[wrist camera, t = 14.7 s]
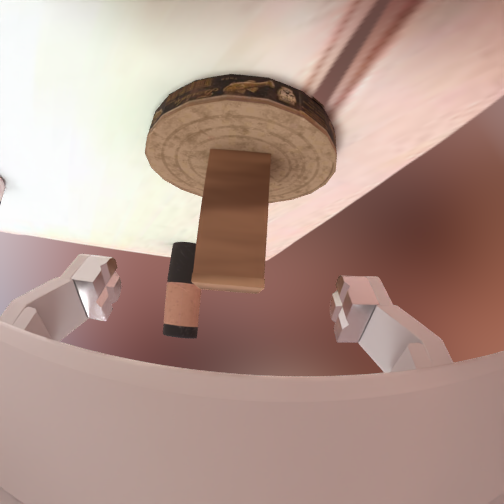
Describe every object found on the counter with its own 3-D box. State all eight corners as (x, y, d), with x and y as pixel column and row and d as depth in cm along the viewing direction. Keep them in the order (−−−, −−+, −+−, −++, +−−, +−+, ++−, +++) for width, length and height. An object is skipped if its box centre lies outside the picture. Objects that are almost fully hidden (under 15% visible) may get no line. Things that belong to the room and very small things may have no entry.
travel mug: (211, 246, 61) (202, 339, 56) (197, 252, 67) (189, 335, 63) (178, 239, 57) (168, 336, 52) (167, 245, 63) (158, 332, 59)
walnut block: (209, 148, 20) (191, 281, 18) (271, 153, 20) (264, 288, 18) (213, 176, 25) (199, 288, 22) (265, 181, 25) (257, 293, 23)
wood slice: (122, 133, 22) (113, 160, 22) (255, 32, 12) (252, 59, 12) (236, 190, 34) (234, 213, 33) (361, 156, 24) (364, 184, 23)
